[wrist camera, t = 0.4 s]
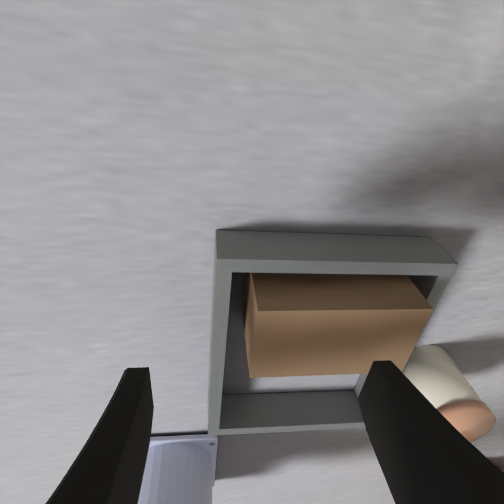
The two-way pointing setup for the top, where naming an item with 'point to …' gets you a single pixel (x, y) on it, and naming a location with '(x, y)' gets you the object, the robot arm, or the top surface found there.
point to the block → (329, 322)
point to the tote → (316, 262)
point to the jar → (448, 391)
